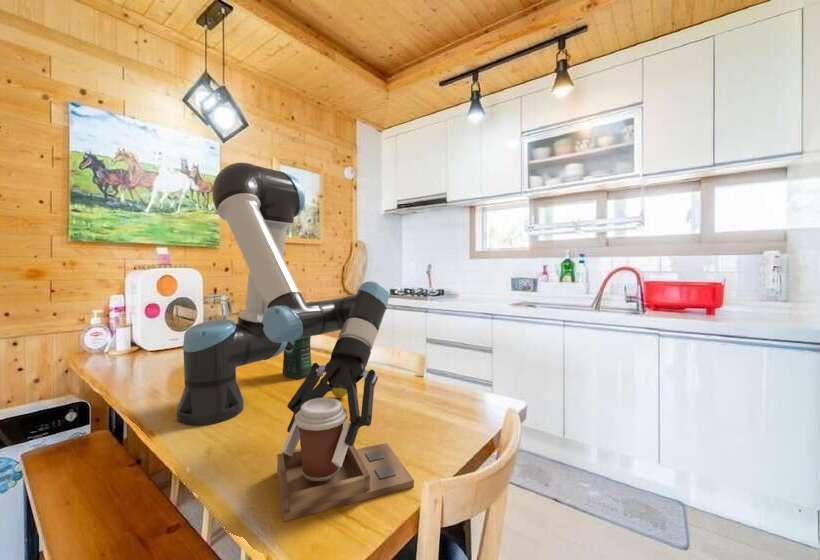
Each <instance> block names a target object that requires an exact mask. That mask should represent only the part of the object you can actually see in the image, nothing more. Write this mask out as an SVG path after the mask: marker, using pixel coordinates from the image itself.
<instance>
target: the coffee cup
mask: <svg viewBox="0 0 820 560" xmlns="http://www.w3.org/2000/svg"><path fill="white" fill-rule="evenodd" d="M347 419H348V412H347V409H346V408H344V407H343V406H342V402H341V401H340V400H338V399H336V398H333V397H327V396H326V397H325V396H324V397H323V398H315V399H311V400H309V401H307V402H305V403H304V404H303V405H302V406H301V410H300V411H299V412H298V413H297V414H296V415H295V424H296V425H297V426H298V427H299V434H300V439H299V443H300V448H301V456H302V467H303V476H304V477H305V478H306V479H308V480H310V481H317V482H319V481H325V480H328V479H331V478H333V477H334V476H335V475H337V474H338V472H339V470H340V467H338V466H336V465H335V464H334V463H333V462H332V459H333V456H334V453H335V450H336V447H337V444H338V442H339V439H340V436H341V433H342V430H343V427H344V424H345V422H347Z"/></svg>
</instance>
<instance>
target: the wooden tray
mask: <svg viewBox="0 0 820 560" xmlns="http://www.w3.org/2000/svg"><path fill="white" fill-rule="evenodd" d="M276 459H277V466H276V467H277V470H276V473H277V481H278V490H279V496H280V498H279V499H280V506H281V514H282V516H281V517H282V522H284V523H285V522H288V521H293V520H295V519H299V518H303V517H307V516H311V515H313V514H318V513H321V512H325V511H330V510H332V509H336V508H341V507H343V506H348V505H350V504H351V505H352V504H354V503H358V502H362V501H366V500H370V499H372V498H377V497H381V496H384V495H388V494H392V493H396V492H399V491H403V490H406V489H411V488H414V487H415V479H414V478H413V476H412V475H411V474H410V473H409V471H408V470H407V468H406V466H405V465H403V462H401V460H400V459H399V458H398V456H397V455H396V453H395V452H394V451H393V449H392V448H391V446H390V445H389V444H388V442H384V443H379V444H375V445H374V444H373V445H370V446H365V447H362V448H356V446H355V445H354V444H353V445H352V446H348V449H347V452H346V455H345V458H344V461H343V464H342V467H340V470H339V472H338V474H337V475H335V476H334V477H333V478H331V479H328V480H325V481H319V482H317V481H310V480H308V479H306V478H305V477H304V476H303V467H302V456H301V447H300V448H295V451H294V453H293V456H288V455H287V454H285V453H284V452H282V453H277V457H276Z"/></svg>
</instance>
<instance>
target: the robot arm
mask: <svg viewBox="0 0 820 560" xmlns="http://www.w3.org/2000/svg"><path fill="white" fill-rule="evenodd" d="M211 189H212V191H211V192H212V196H211V197H212V201H213V205H214V209H216V211H217V214H218V216H219V217H220V219H222V220H223V221H225V222H226V223H227V225H228V227H229V229H230V230H231V233H232V235H233V237H234V241H235V242H236V244H237V246H238V248H239V250H240V253H241V254H242V257H243V259H244V261H245V263H246V266H247V267H248V278H247V286H246V296H245V308H244V309H243V310H241V311H240V312H239V313H238V317H237V323H235V321H234V320H232V319H218V320H208V321H205V322H201V323H197V324H195V325H193V326H191V327H189V328H188V329H186V331H185V332H184V334H183V343H182V350H183V373H184V377H183V378H184V388H183V391H182V394H181V397H180V399H179V403H178V405H177V408H176V420H177V422H178V423H180V424H183V425H187V426H205V425H206V426H207V425H212V424H216V423H221V422H223V421H226V420H227V421H228V420H229V419H232V418H234V417H236V416H238V415H239V414H241V412H242V411H243V410H244V405H245V403H244V402H245V401H244V397H243V394H242V392H241V389H240V387H239V384H238V381H237V367H241V366H246V365H249V364H253V363H257V362H261V361H267V360H270V359H271V358H275V357H277V356H279V355H280V354H282V353H284V349H285V347H286V345H287V342H291V341H296V340H298V339H302V338H306V337H310V336H311V337H315V336H318V335H323V334H327V333H328V334H329V333H333V332H337V331H340V333H339V334H338V336H337V337H338V339H337V340H336V342H335V344H334V346H333V349H332V352H331V355H330V359H329V361H328V362H327V363H326V364H325V365H324V364H320V365H319V363H318V362H314V363H313V364H312V367H311V370H310V373H309V375H308V376H307V377H305V378H304V380H303V382H302V383H301V385H300V386H299V388H297V390H296V392H295V393H294V395H293V396H292V398H291V399H290V401H288V404H287V406H286V407H287V408H288V409H289V411H291V412H292V413H293V414H292V417H291V420H290V422H289V424H288V426H287V429H286V432H287V433H288V435H287V438H286V439H285V442H284V444H283V446H282V448H281V452H282V453H283V452H284V453H285V454H287V455H288V456H293V453H294V451H295V449H297V445H298V443H299V442H300V434H299V427H298V426H297V425H296V424H295V415H296V414H297V413H298V412H299V411H300V410H301V406H302V405H303V404H304V403H305V402H307V401H309V400H311V399H315V398H323V397H325V396H326V395H327V394H328V393H329V392H332V391H331V390H332V389H333V388H343V389H346V390H347V394H346V395H347V403H348V404H347V405H348V413H349V419H348V421H349V422H348V421H345V422H344V423H343V430H342V433H341V436H340V439H339V442H338V444H337V447H336V450H335V453H334V456H333V459H332V462H333V463H334V464H335V465H336V466H338V467H342V464H343V461H344V458H345V455H346V452H347V449H348V446H352V445H354V444H355V442H356V440H357V439H356V437H357V435H358V432H359V429H360V428H361V427H364V426H365V427H369V426H371V424H372V417H373V404H374V395H375V386H376V384H377V381H378V379H379V377H378V375H377V373H376V372H375V370H374V369H370V370H366V367H367V366H368V365H367V364H368V363H369V359H370V356H371V354H372V352H371V351H372V350H373V347H374V345H375V343H376V338H377V336H378V334H379V333H378V332H379V330H380V326H381V324H382V323H383V322H382V321H383V319H384V316H385V313H386V311H387V309H388V304H389V299H390V294H389V291H388V289H386V287H385V286H383V285H382V284H381V283H379V282H376V281H370V280H369V281H365V282H362V283H361V284H360V286H359V288H358V289H357V292H356V293H355V294H352V295H351V294H350V295H348V296H345V297H339V298H334V299H326V300H325V299H324V300H319V301H309V302H306V301H305V298H304V297H303V295H302V293H301V291H300V290H299V287H298V286H297V283H296V281H295V278H294V277H293V275H292V274H291V273H292V272H290V269H289V267H288V264H287V263H286V261H285V259H284V256H285V248H286V239H287V230H288V228H290V227H291V226H292V225H294V219H295V217H297V216H299V215H300V214H301V213H302V211H303V210H304V209H305V205H306V194H305V190H304V187H303V184H301V182H300V181H299V179H298V178H296V177H295V176H294V175H292V174H288V173H286V172H284V171H282V170H280V171H279V170H275V169H271V168H268V167H267V168H266V167H263V166H259V165H255V164H252V163H248V162H235V163H232V164H229V165H227V166H225V167H223V169H221V170H220V171H219V173H218V174H217V175H216V176H215V179H214V181H213V184H212V188H211ZM324 373H325V375H324ZM321 377H322V378H321ZM320 378H321V379H320ZM362 379H363V381H364V383H363V392H362V393H363V394H362V401H361V402H362V403H361V413H360V405H359V397H358V388H357V387H358V386H357V383H359V382H360V381H361V380H362Z"/></svg>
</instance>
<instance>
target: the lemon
mask: <svg viewBox="0 0 820 560" xmlns="http://www.w3.org/2000/svg"><path fill="white" fill-rule="evenodd" d="M330 392H331V393H332V394H333V396H335V397H337V398H338V399H342V398H343V397H344V396H346V395H347V390H346V389H343V388H333V389H332V390H331V391H330Z"/></svg>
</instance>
